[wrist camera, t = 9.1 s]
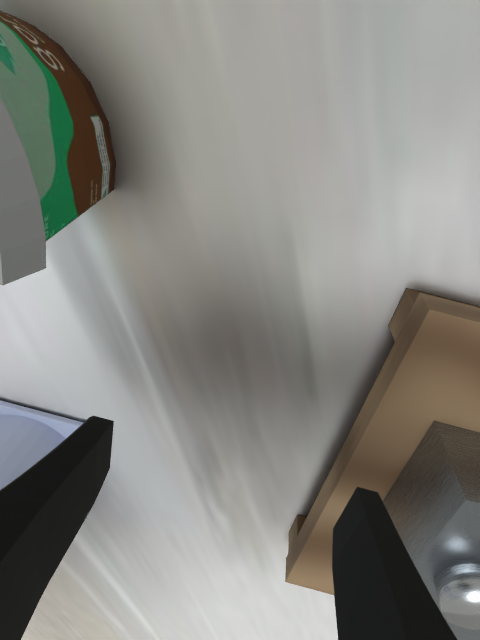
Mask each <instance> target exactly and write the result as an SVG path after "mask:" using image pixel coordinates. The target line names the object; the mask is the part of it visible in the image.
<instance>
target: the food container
mask: <svg viewBox="0 0 480 640" xmlns="http://www.w3.org/2000/svg"><path fill="white" fill-rule="evenodd" d="M115 165H116V162H115V156H114V150H113V145H112V139H111V134H110V128H109V123H108V120H107V118H106V116H105V114H104V112H103V109H102V107H101V105H100V103H99V101H98V99H97V96H96V94H95V92H94V90H93V88H92V85H91V83H90V81H89V80H88V79H87V78H86V76H85V75H84V74H83V73H82V71H81V70H80V69H79V68H78V67H77V65H76V64H75V63H74V62H73V60H72V59H71V58H70V57H69V55H68V54H67V53H66V52H65V50H64V49H63V48H62V47H61V46H60V45H59V44H57V43H56V42H55V41H53V40H52V39H51V38H49V37H48V36H47V35H45V34H44V33H43V32H41V31H40V30H39V29H37V28H36V27H35V26H33V25H31V24H29V23H27V22H25V21H22V20H20V19H18V18H16V17H14V16H12V15H9V14H7V13H4V12H2V11H0V285H5V284H7V283H10V282H12V281H15V280H17V279H20V278H22V277H25V276H27V275H30V274H32V273H35V272H37V271H40V270H42V269H45V268H46V241H47V240H48V239H50V238H51V237H52V236H54V235H55V234H56V233H58V232H59V231H60V230H62V229H63V228H64V227H65V226H67V225H68V224H69V223H71V222H72V221H73V220H75V219H76V218H77V217H79V216H80V215H81V214H82V213H84V212H85V211H86V210H88V209H89V208H90V207H92V206H93V205H94V204H96V203H97V202H98V201H99V200H101V199H102V198H103V197H105V196H106V195H107V194H109V193H110V192H111V191H113V190H114V179H115Z"/></svg>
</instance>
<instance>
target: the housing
mask: <svg viewBox="0 0 480 640" xmlns="http://www.w3.org/2000/svg"><path fill="white" fill-rule="evenodd" d="M383 503H384V505H385V507H386V509H387V511H388V513H389V515H390V517H391V519H392V522H393V524H394V526H395V528H396V530H397V532H398V534H399V536H400V538H401V540H402V542H403V544H404V546H405V548H406V550H407V551H408V553H409V555H410V557H411V559H412V561H413V563H414V565H415V567H416V569H417V570H418V572H419V574H420V576H421V578H422V580H423V582H424V583H425V585H426V587H427V589H428V591H429V592H430V594H431V596H432V598H433V600H434V601H435V603H436V605H437V606H438V608H439V610H440V612H441V613H442V615H443V617H444V618H445V620H446V622H447V623H448V625H449V627H450V628H451V630H452V632H453V633H454V635H455V636H456V638H457V640H480V432H476V431H472V430H468V429H465V428H461V427H457V426H453V425H449V424H446V423H442V422H438V421H433V423H432V424H431V426H430V428H429V429H428V431H427V432H426V434H425V435H424V437H423V438H422V440H421V442H420V443H419V445H418V446H417V448H416V449H415V451H414V453H413V454H412V456H411V457H410V459H409V460H408V462H407V464H406V465H405V467H404V468H403V470H402V471H401V473H400V474H399V476H398V478H397V479H396V481H395V482H394V484H393V485H392V487H391V489H390V490H389V492H388V493H387V495H386V496H385V498H384V500H383Z"/></svg>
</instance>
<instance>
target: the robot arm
mask: <svg viewBox="0 0 480 640" xmlns="http://www.w3.org/2000/svg"><path fill="white" fill-rule="evenodd" d="M113 423H114V421H111V420H107V419H104V418H100V417H96V416H92V417H89V418H88V419H87V420H86V421H85V422H84V423H83V422H79V421H76V420H72V419H68V418H64V417H61V416H57V415H53V414H49V413H46V412H42V411H38V410H35V409H31V408H27V407H23V406H20V405H16V404H12V403H8V402H5V401H1V400H0V640H21V638H22V636H23V634H24V632H25V629H26V627H27V625H28V623H29V621H30V619H31V617H32V615H33V613H34V610H35V608H36V606H37V604H38V602H39V600H40V598H41V596H42V594H43V592H44V590H45V588H46V587H47V585H48V583H49V581H50V579H51V577H52V576H53V574H54V572H55V570H56V569H57V567H58V565H59V564H60V562H61V560H62V558H63V557H64V555H65V553H66V551H67V550H68V548H69V546H70V544H71V543H72V541H73V539H74V538H75V536H76V534H77V532H78V531H79V529H80V527H81V525H82V524H83V522H84V520H85V519H86V518H87V516H88V514H89V511H90V510H91V508H92V506H93V504H94V502H95V500H96V498H97V496H98V494H99V491H100V489H101V487H102V485H103V482H104V480H105V478H106V475H107V473H108V471H109V468H110V458H111V446H112V434H113ZM332 572H333V584H334V596H335V607H336V618H337V630H338V640H457V638H456V636H455V635H454V633H453V632H452V630H451V628H450V627H449V625H448V623H447V622H446V620H445V618H444V617H443V615H442V613H441V612H440V610H439V608H438V606H437V605H436V603H435V601H434V600H433V598H432V596H431V594H430V592H429V591H428V589H427V587H426V585H425V583H424V582H423V580H422V578H421V576H420V574H419V572H418V570H417V569H416V567H415V565H414V563H413V561H412V559H411V557H410V555H409V553H408V551H407V550H406V548H405V546H404V544H403V542H402V540H401V538H400V536H399V534H398V532H397V530H396V528H395V526H394V524H393V522H392V519H391V517H390V515H389V513H388V511H387V509H386V507H385V505H384V503H383V501H382V499H381V497H380V495H379V493H378V492H375V491H372V490H368V489H364V488H360V487H357V488H356V489H355V491H354V493H353V495H352V496H351V498H350V500H349V502H348V503H347V505H346V507H345V509H344V510H343V512H342V514H341V515H340V517H339V519H338V521H337V522H336V524H335V526H334V528H333V544H332Z"/></svg>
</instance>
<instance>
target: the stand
mask: <svg viewBox="0 0 480 640" xmlns="http://www.w3.org/2000/svg"><path fill="white" fill-rule="evenodd" d="M388 326H389V328H390V331H391V334H392V336H393V339H394V342H395V343H394V345H393V347H392V349H391V351H390V353H389V354H388V356H387V358H386V360H385V362H384V364H383V366H382V368H381V370H380V372H379V374H378V376H377V378H376V380H375V382H374V384H373V386H372V388H371V390H370V392H369V394H368V396H367V398H366V400H365V402H364V404H363V406H362V408H361V410H360V412H359V414H358V416H357V418H356V420H355V422H354V424H353V426H352V428H351V430H350V432H349V434H348V436H347V438H346V440H345V442H344V444H343V446H342V448H341V450H340V452H339V454H338V456H337V458H336V460H335V462H334V464H333V466H332V468H331V470H330V472H329V474H328V476H327V478H326V480H325V482H324V484H323V486H322V488H321V490H320V492H319V494H318V496H317V498H316V500H315V502H314V504H313V506H312V508H311V510H310V512H309V514H308V516H307V517H304V516H300V515H297V517H296V519H295V521H294V523H293V525H292V527H291V529H290V531H289V551H288V556H287V558H286V580H285V582H288V583H291V584H295V585H299V586H303V587H306V588H310V589H314V590H317V591H321V592H325V593H328V594H332V595H334V584H333V572H332V544H333V528H334V526H335V524H336V522H337V521H338V519H339V517H340V515H341V514H342V512H343V510H344V509H345V507H346V505H347V503H348V502H349V500H350V498H351V496H352V495H353V493H354V491H355V489H356V488H357V487H360V488H364V489H368V490H372V491H375V492H378V493H379V495H380V497H381V499H382V501H383V500H384V498H385V496H386V495H387V493H388V492H389V490H390V489H391V487H392V485H393V484H394V482H395V481H396V479H397V478H398V476H399V474H400V473H401V471H402V470H403V468H404V467H405V465H406V464H407V462H408V460H409V459H410V457H411V456H412V454H413V453H414V451H415V449H416V448H417V446H418V445H419V443H420V442H421V440H422V438H423V437H424V435H425V434H426V432H427V431H428V429H429V428H430V426H431V424H432V423H433V421H438V422H442V423H446V424H449V425H453V426H457V427H461V428H465V429H468V430H472V431H476V432H480V307H476V306H473V305H469V304H465V303H461V302H457V301H453V300H450V299H446V298H442V297H438V296H434V295H430V294H427V293H423V292H419V291H415V290H411V289H407V288H406V290H405V292H404V294H403V296H402V298H401V300H400V302H399V304H398V307H397V309H396V311H395V313H394V315H393V317H392V319H391V321H390V323H389V325H388Z"/></svg>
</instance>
